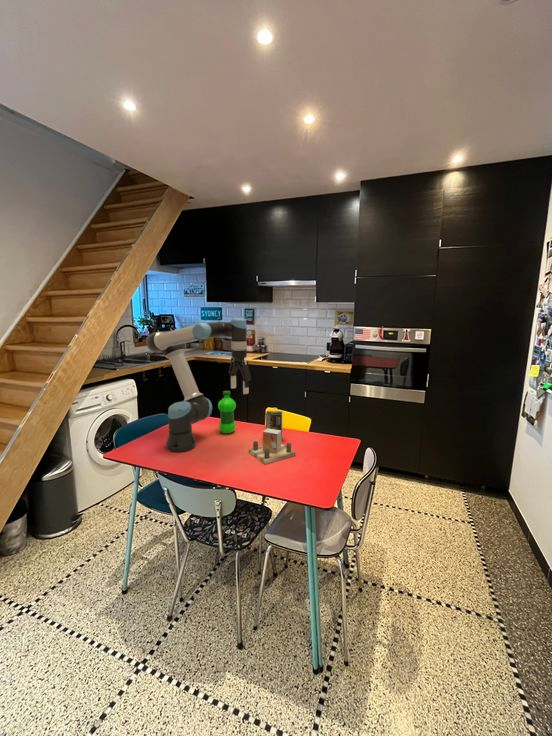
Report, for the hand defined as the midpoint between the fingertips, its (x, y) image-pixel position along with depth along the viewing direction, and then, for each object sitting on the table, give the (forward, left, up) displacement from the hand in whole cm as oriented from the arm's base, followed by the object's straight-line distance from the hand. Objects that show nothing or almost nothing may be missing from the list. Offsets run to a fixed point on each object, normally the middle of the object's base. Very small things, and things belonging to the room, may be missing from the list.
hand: (239, 390), depth 172 cm
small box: (+14, +11, -30) cm, 35 cm away
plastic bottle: (-26, +5, -32) cm, 41 cm away
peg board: (+14, +11, -32) cm, 36 cm away
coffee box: (-1, +22, -32) cm, 39 cm away
